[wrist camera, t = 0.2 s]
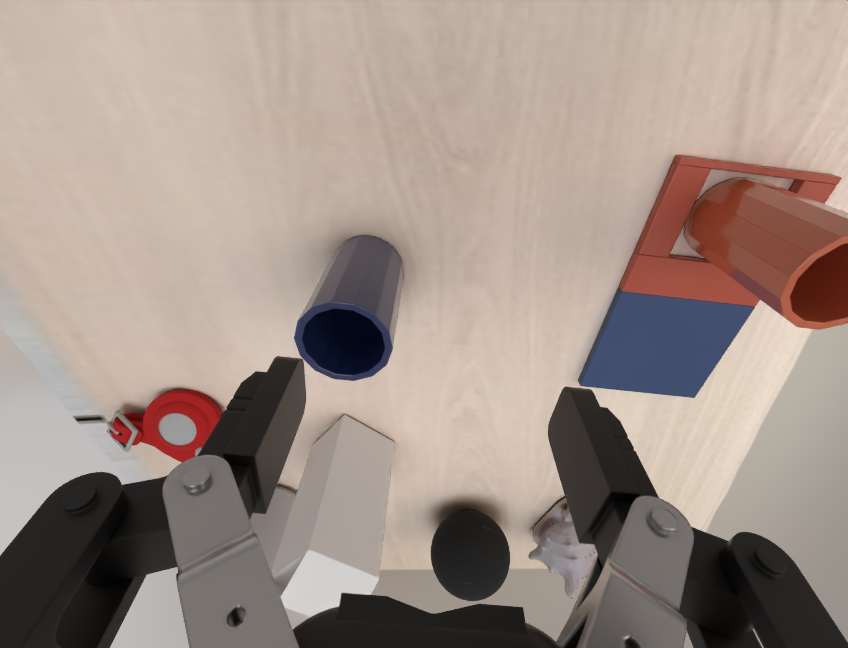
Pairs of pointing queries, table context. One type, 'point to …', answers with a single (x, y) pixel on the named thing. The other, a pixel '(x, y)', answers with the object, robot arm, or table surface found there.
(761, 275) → the red cup
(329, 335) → the blue cup
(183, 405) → the tracker holder
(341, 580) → the milk carton
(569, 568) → the seashell
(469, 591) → the speaker
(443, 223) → the table surface
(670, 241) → the sorting board
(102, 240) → the table surface
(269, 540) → the can
